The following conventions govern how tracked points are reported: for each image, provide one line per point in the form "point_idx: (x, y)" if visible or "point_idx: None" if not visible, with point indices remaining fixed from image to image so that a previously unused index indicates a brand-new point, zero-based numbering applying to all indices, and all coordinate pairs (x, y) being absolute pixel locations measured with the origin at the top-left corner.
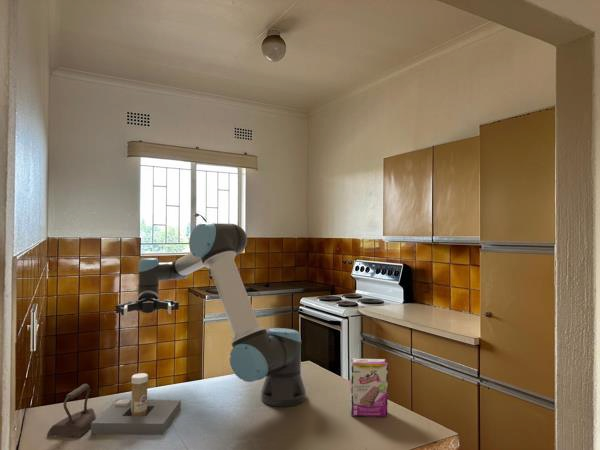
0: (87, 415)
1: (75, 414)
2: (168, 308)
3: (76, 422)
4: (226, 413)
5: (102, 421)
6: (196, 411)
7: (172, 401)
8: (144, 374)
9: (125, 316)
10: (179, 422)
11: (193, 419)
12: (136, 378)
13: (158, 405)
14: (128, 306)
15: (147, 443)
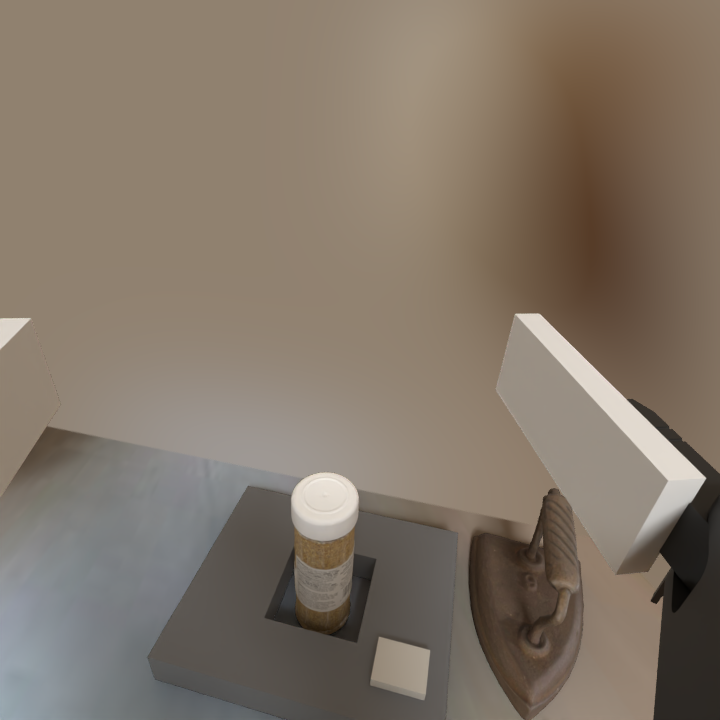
0: (505, 607)
1: (557, 626)
2: (8, 404)
3: (512, 559)
4: (4, 597)
5: (427, 535)
6: (99, 644)
7: (186, 650)
8: (305, 499)
9: (503, 386)
10: (189, 567)
11: (138, 577)
12: (335, 474)
13: (250, 620)
14: (704, 591)
15: (290, 479)
